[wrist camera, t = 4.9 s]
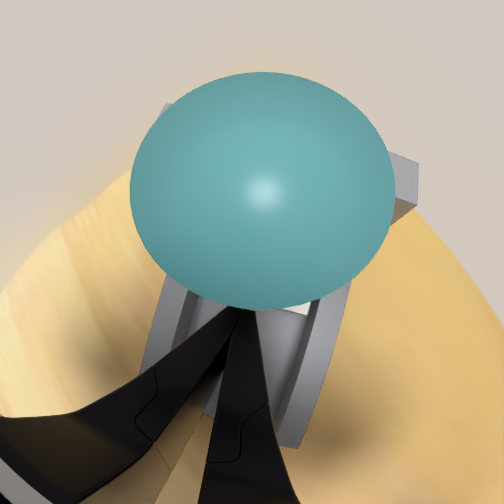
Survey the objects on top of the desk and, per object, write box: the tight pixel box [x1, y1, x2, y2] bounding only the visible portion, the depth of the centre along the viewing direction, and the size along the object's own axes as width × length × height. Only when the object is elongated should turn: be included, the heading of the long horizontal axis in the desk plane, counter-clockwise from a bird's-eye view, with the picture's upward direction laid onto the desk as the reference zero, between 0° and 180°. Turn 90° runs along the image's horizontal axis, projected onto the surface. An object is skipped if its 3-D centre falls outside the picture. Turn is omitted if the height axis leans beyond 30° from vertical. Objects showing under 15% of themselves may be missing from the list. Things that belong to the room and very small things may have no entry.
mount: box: [139, 104, 419, 449], centre depth 11 cm, size 12×9×9 cm
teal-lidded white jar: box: [130, 72, 395, 315], centre depth 10 cm, size 5×5×10 cm
